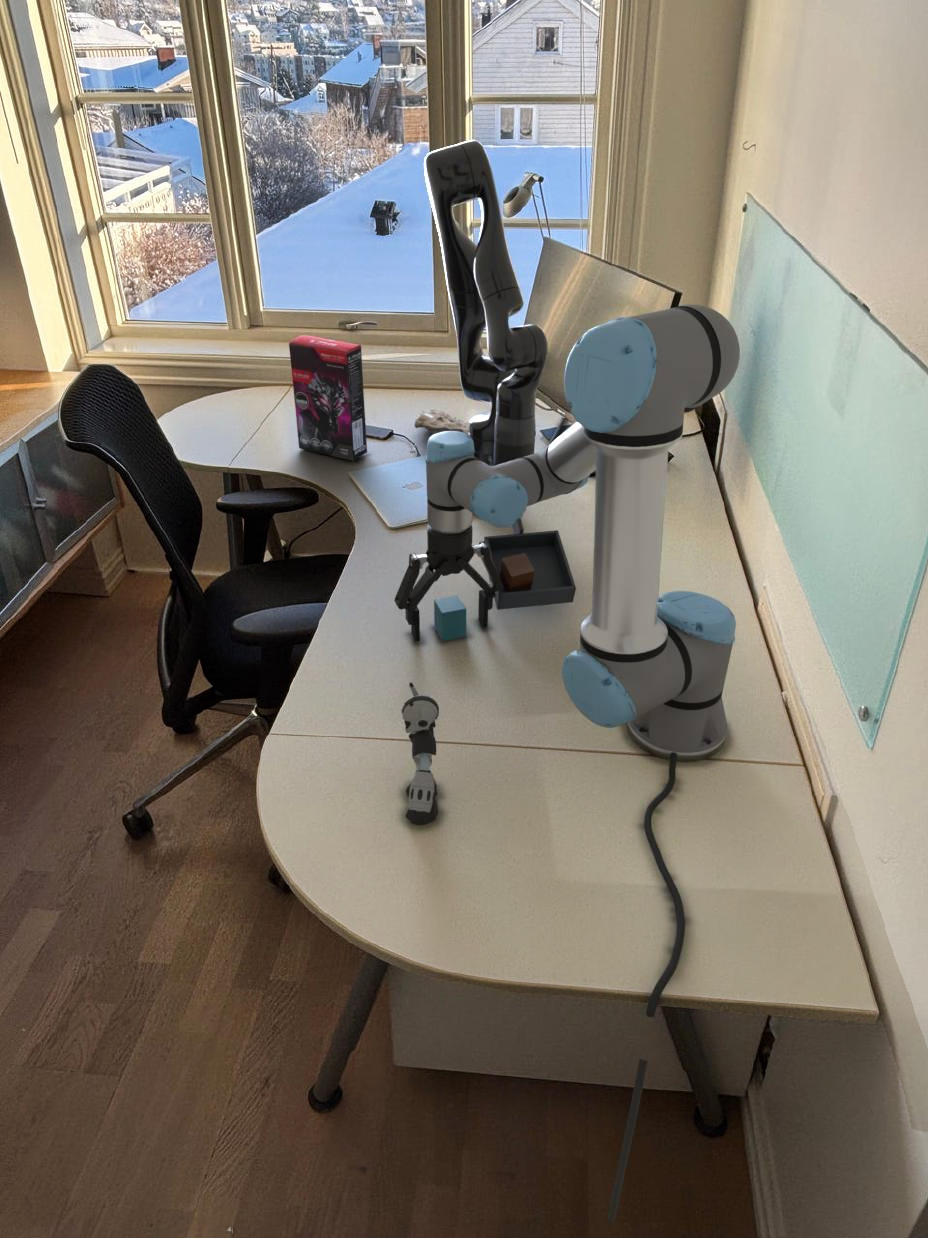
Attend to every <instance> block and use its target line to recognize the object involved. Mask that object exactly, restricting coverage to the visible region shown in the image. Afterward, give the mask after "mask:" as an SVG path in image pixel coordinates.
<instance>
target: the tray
mask: <svg viewBox="0 0 928 1238" xmlns="http://www.w3.org/2000/svg"><path fill="white" fill-rule="evenodd" d="M511 528H512V529H511V530H512V533H511V534H500V535H487V536H484V537H483V541H484V542H485V543H486V545H487V546H488V547H489V549H490V559H491V561H492V563H493V565H494V567H495V569H496V572H497V574H498V576H499V577H500V571H501V564H502V558H506V557H510V556H514V555H518V554H522V553H525V554H526V556H527V557H528V559H529V561H530V563H531V565H532V567H533V569H534V570H535V572H534V577H533V582H532V587H531V590H528V591H518V592H507V593H506V592H505V590H504V589H503V590H502V591H496V592H495V594H496V596H495V597H494V598H493V600H494V603H495V608H496V610H497V611H498V610H509V609H517V608H528V607H539V606H548V605H558V604H568V603H574V598H575V595H576V590H577V585H576V583H575V579H574V577H573V573H572V570H571V568H570V564H569V561H568V558H567V554H566V552H565V548H564V544H563V541H562V538H561V536H560V532H559V530H544V531H533V532H525V529H524V525H523V522H522V517H521V518H520V519H518V520H516V521H515V524H513V525H511ZM487 574H488V573H487ZM488 579H489V584H490V583H492V581H491V578H490V576H489V574H488Z"/></svg>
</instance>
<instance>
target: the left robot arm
mask: <svg viewBox="0 0 928 1238" xmlns="http://www.w3.org/2000/svg"><path fill="white" fill-rule="evenodd" d="M423 166H424V167H423V169H424V177H425V183H426V188H427V193H428V196H429V201H430V204H431V208H432V213H433V217H434V220H435V221H434V222H435V224H436V225H435V226H436V230H437V232H438V236H439V238H438V239H439V242H440V247H441V254H442V261H443V268H444V274H445V281H446V287H447V292H448V299H449V303H450V307H451V308H450V309H451V313H452V318H453V324H454V329H455V330H454V331H455V336H456V344H457V354H458V370H459V371H458V372H459V382H460V386H461V389H462V392H463V395H465V397H466V398H467V399H469V400H473V401H477V402H481V403H485V404H490V411H485V412H481V413H478V414H475V415H473V416H472V417H471V418H470V419H469V421H468V422H469V436H470V437H471V438H472V440H473V442H474V449H475V452H474V457H475V458H477V459H479V460H480V461H482V462H484V463H486V464H487V465H489V466H496V465H499V464H502V463H505V462H509V461H512V460H516V459H519V458H522V457H525V456H528V455H532V454H535V448H536V447H535V445H536V435H537V431H536V424H537V423H536V400H537V398H536V397H537V390H538V387H539V385H540V381H541V378H542V374H543V371H544V369H545V365H546V363H547V359H548V353H549V341H548V337H547V335H546V332H545V331H544V329H543V328H542V327H541V326H539V325H538V324H534V323H528V324H523V325H518V326H513V327H510V323H509V318H510V317H512V316H515V315H516V314H518V313H519V312H520V311H521V310H522V309H523V308H524V304H525V301H524V296H523V293H522V290H521V287H520V286H521V285H520V284H519V281H518V280H519V279H518V277H517V274H516V272H515V268H514V266H513V263H512V258H511V255H510V252H509V247H508V242H507V238H506V232H505V225H504V221H503V215H502V210H501V206H500V202H499V197H498V191H497V187H496V182H495V178H494V174H493V169H492V166H491V163H490V159H489V156H488V153H487V152H486V149H485V147H484V146H483V144H482V143H481V142H480V141H478V140H475V139H472V140H467V141H463V142H460V143H457V144H454V145H450V146H446V147H443V148H439V149H436V150H433V151H431V152H429V153H427V154H426V156H425V157H424V162H423ZM476 200H478V201H479V205H480V210H481V225H480V232H479V236H478V240H477V244H476V243H475V242H474V241H473V239H471V238H470V237H469V236H468V235H467V233H465V231H464V230H463V229H462V227H461V226H460V225H459V223H458V222H457V220H456V217H455V215H454V210H453V208H454V207H456V206H459V205H462V204H466V203H469V202H472V201H476ZM485 329H486V346H487V347H486V348H487V355H488V356H487V355H485V353H484V350H483V345H482V337H483V332H484V331H485ZM565 421H566V419H565V418H563V417H562V418H561V420H560V421H559V423H558V425H557V427H556V429H555V431H554V433H553V436H552V437H551V438H550V440H549V442H548V444H547V445H546V446H545V447H547V446H548V445H549V444H550V443H552V442H553V441H554V440H555V439H556V438H557V437H558V436H559V433H560V431H561V429H562V427H563V426H564V423H565Z"/></svg>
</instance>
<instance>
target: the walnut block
mask: <svg viewBox="0 0 928 1238" xmlns="http://www.w3.org/2000/svg"><path fill="white" fill-rule="evenodd" d="M534 572H535V570H534V569H533V567H532V565H531V563H530V561H529V559H528V557H527V556H526V554H525V553H522V554H518V555H514V556H510V557H506V558H502V564H501V571H500V577H499V578H500V580H501V582H502V584H503V586H504V590H505V592H506V593H507V592H518V591H528V590H531V587H532V582H533V577H534Z"/></svg>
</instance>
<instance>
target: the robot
mask: <svg viewBox="0 0 928 1238" xmlns="http://www.w3.org/2000/svg"><path fill="white" fill-rule="evenodd" d="M409 688H410V691H411V693H412V697H410V698H409V699H407V700H406V701H405V702H404V703H403V705H402V707H401V714H402V719H403V721H404V725H405V726H404V727H405V728H404V732H405V733H406V734H409V735H408V739H409V740H410V742H411V755H412V757H411V758H412V760H413V761H414V763H415V766H416V770H415V773H414V775H413V777H412V779H411V781H410V783H409V785H408V786H407V787H406V789H405V793H406V795H407V798H408V809H407V812H406V813H405V818H406V819H407V820H408V821H409V822H410V823H411V824H414V825H417V826H423V825H426V824H429V823H431V822H433V821H435V820H436V819H437V816H438V814H439V810H438V809H439V808H438V802H437V800H436V797H437V795H438V786H437V782H436V781H435V780H436V779H435V777H434V774H433V773H432V772H431V769H430V768H431V766H432V765H433V759H432V757H433V756H437V740H436V738H435V731H434V728H436V720H437V719H438V717H439V713H440V707H439V704H438V702H437V701H436V700H435V699H434V698H432V697H431V696H428V695H426V694H419V692H418V690H417V689H416V687H415V685H414V683H413V682H412V681H411V682H409Z"/></svg>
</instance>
